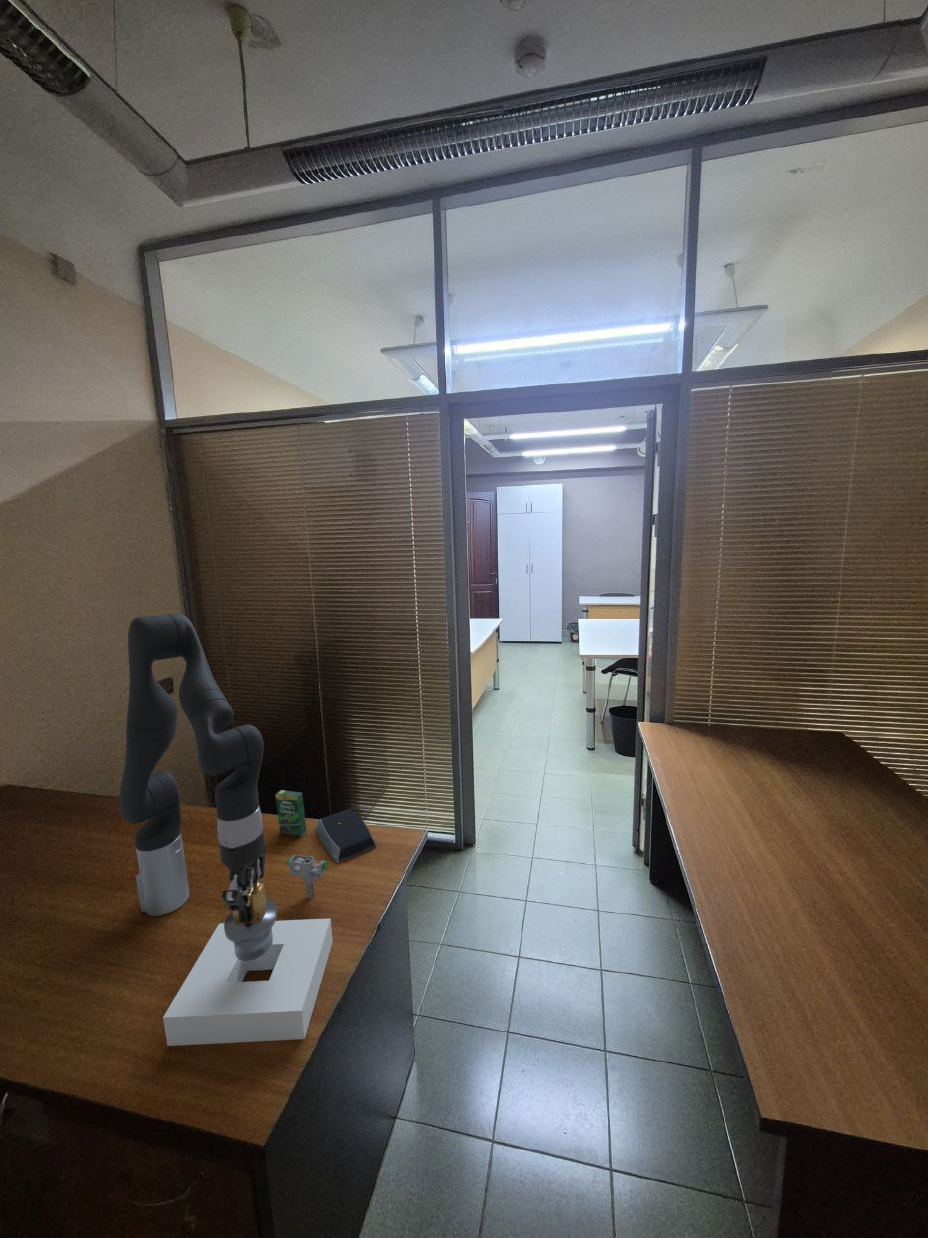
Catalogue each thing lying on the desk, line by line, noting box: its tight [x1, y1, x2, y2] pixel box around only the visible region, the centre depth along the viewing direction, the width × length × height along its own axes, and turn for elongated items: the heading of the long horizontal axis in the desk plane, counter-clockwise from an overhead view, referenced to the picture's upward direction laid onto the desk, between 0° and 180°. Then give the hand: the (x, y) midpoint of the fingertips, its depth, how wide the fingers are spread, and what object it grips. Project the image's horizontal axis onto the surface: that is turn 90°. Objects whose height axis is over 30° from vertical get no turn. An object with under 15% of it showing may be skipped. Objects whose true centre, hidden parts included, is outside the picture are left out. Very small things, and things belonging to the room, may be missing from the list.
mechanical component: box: [286, 854, 329, 899], centre depth 114 cm, size 3×10×10 cm, turn 78°
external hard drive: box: [315, 808, 377, 864], centre depth 137 cm, size 13×19×4 cm
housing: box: [162, 918, 333, 1047], centre depth 91 cm, size 24×20×6 cm
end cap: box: [223, 882, 278, 961], centre depth 89 cm, size 9×9×12 cm
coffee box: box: [275, 789, 307, 837], centre depth 139 cm, size 8×3×13 cm, turn 73°
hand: (250, 913), depth 89 cm, fingers closed on end cap, 3 cm apart
